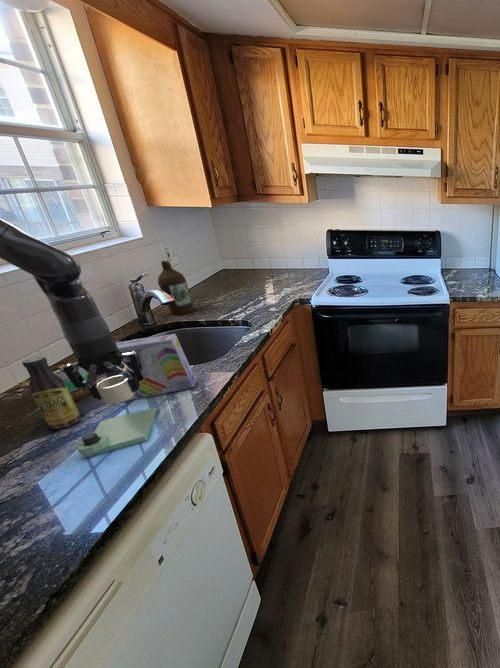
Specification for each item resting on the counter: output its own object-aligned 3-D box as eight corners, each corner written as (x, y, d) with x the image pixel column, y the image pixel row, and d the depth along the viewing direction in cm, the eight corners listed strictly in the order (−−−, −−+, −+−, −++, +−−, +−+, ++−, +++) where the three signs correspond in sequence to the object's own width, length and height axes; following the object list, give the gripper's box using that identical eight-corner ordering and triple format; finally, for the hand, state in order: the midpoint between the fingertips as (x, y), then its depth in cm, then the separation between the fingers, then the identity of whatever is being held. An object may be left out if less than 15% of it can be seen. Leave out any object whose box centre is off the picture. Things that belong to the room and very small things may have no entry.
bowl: (100, 408, 89) (91, 391, 87) (108, 395, 95) (100, 379, 92) (133, 400, 92) (125, 384, 90) (138, 388, 97) (131, 372, 95)
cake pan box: (119, 402, 108) (92, 350, 100) (126, 393, 112) (101, 342, 104) (193, 389, 113) (173, 338, 106) (197, 381, 117) (178, 332, 110)
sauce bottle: (47, 433, 96) (6, 368, 87) (55, 421, 100) (16, 358, 92) (80, 424, 99) (44, 360, 90) (86, 413, 104) (52, 351, 95)
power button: (84, 447, 86) (80, 440, 86) (87, 441, 89) (83, 434, 88) (97, 443, 88) (94, 437, 87) (101, 437, 90) (97, 431, 89)
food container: (58, 411, 105) (40, 381, 100) (46, 407, 107) (28, 378, 102) (107, 388, 115) (93, 361, 111) (95, 385, 117) (81, 358, 113)
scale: (78, 462, 86) (73, 452, 85) (99, 425, 98) (94, 416, 97) (145, 443, 91) (140, 434, 90) (156, 411, 103) (152, 402, 102)
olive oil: (165, 313, 176) (145, 262, 165) (188, 306, 184) (171, 257, 173) (177, 317, 171) (157, 264, 160) (200, 309, 179) (183, 259, 169)
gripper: (130, 323, 92) (155, 379, 99) (55, 336, 86) (87, 395, 93) (122, 334, 86) (150, 393, 93) (40, 348, 80) (76, 410, 87)
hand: (118, 394), depth 93 cm, fingers closed on bowl, 6 cm apart
